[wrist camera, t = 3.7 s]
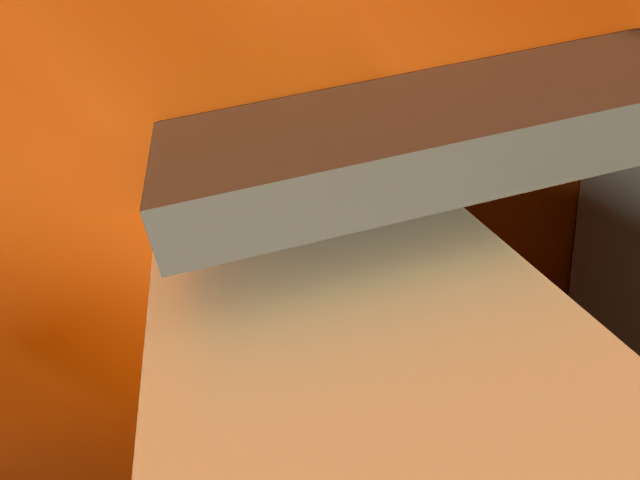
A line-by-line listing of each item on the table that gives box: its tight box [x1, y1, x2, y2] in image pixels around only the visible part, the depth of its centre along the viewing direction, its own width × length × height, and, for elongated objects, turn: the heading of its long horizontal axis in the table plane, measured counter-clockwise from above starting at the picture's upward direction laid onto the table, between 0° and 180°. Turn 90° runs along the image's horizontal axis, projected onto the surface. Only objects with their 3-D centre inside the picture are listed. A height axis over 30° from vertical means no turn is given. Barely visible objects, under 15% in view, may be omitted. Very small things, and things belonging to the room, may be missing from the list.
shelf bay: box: [140, 29, 640, 356], centre depth 10 cm, size 9×11×4 cm
